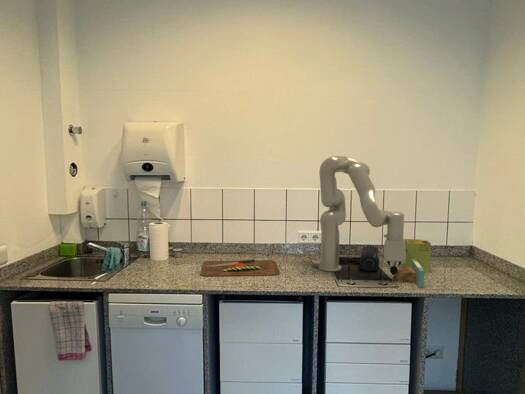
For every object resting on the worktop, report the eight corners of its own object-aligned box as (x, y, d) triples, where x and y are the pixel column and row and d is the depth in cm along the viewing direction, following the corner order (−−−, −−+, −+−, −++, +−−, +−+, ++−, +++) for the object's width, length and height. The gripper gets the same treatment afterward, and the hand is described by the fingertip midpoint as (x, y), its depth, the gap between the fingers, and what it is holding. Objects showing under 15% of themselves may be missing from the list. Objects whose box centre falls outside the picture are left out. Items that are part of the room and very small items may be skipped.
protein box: (429, 273, 207) (431, 243, 205) (398, 271, 210) (400, 242, 208) (425, 267, 217) (427, 239, 215) (396, 265, 220) (397, 238, 218)
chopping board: (194, 278, 196) (194, 272, 196) (199, 263, 223) (199, 257, 222) (285, 276, 200) (285, 270, 199) (278, 262, 226) (278, 257, 226)
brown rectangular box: (398, 282, 192) (398, 272, 191) (394, 276, 201) (394, 266, 201) (415, 283, 191) (416, 273, 190) (410, 276, 200) (411, 267, 200)
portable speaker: (378, 274, 204) (379, 255, 203) (358, 272, 207) (359, 253, 206) (379, 261, 228) (380, 244, 227) (361, 260, 231) (362, 243, 230)
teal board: (419, 287, 183) (420, 270, 183) (410, 274, 203) (411, 259, 202) (423, 287, 183) (424, 270, 182) (414, 274, 203) (415, 259, 202)
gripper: (379, 238, 190) (378, 275, 192) (412, 239, 188) (410, 277, 190) (378, 235, 198) (376, 271, 200) (409, 236, 195) (407, 273, 197)
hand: (393, 274), depth 195 cm, fingers closed
